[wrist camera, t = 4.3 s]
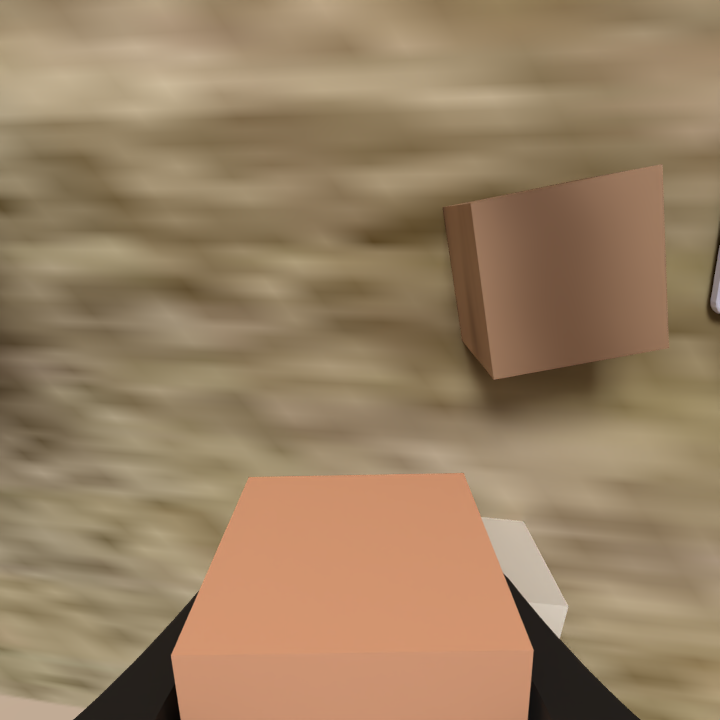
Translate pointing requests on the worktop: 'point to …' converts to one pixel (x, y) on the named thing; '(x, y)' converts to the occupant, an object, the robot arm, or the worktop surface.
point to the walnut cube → (562, 272)
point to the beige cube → (527, 570)
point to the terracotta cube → (354, 607)
